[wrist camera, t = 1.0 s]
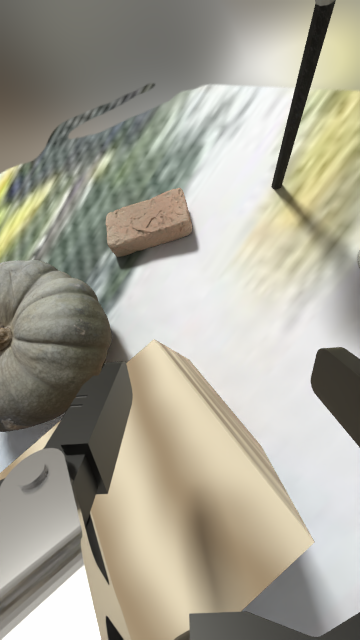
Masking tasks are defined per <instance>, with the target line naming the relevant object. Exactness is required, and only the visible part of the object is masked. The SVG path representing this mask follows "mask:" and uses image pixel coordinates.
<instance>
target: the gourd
mask: <svg viewBox="0 0 360 640" xmlns="http://www.w3.org/2000/svg"><path fill="white" fill-rule="evenodd" d="M111 340H112V333H111V329H110V324H109V321H108V318H107V316H106V314H105V312H104V310H103V308H102V307H101V305H100V304H99V302H98V298H97V296H96V294H95V292H94V291H93V290H92V289H91V288H90V287H89V286H88V285H87V284H86V283H84V282H83V281H81V280H78V279H75V278H72V277H71V276H69V275H68V274H66V273H64V272H61V271H58V270H57V269H56V268H55V267H53V266H51V265H50V264H48V263H45V262H42V261H38V260H30V261H21V260H18V261H8V262H2V263H0V432H6V431H13V430H19V429H24V428H28V427H32V426H35V425H37V424H41V423H44V422H47V421H50V420H53V419H54V418H56V417H58V416H60V415H61V414H63V413H64V412H66V411H67V410H68V408H69V407H70V406H71V403H72V402H73V400H74V398H76V395H77V394H78V392H79V390H80V389H81V387H82V385H83V384H84V383H86V382H87V381H88V380H89V379H90V378H91V377H92V376H97V375H99V374H100V372H101V369H102V365H103V363H104V362H105V360H106V357H107V350H108V348H109V347H110V345H111Z"/></svg>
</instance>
